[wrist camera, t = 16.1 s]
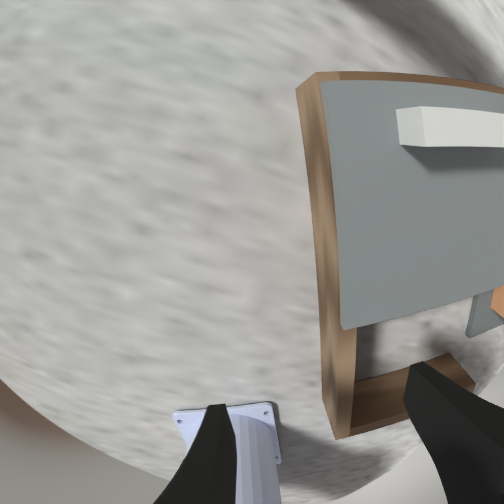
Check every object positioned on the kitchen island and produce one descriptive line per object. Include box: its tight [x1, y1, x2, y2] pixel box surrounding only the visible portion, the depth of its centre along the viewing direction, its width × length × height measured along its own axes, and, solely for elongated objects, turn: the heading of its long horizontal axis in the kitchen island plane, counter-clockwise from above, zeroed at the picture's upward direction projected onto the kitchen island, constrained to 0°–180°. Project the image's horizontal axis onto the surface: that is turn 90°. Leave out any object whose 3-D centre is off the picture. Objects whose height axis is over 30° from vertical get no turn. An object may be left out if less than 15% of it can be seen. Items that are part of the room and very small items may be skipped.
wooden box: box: [296, 71, 504, 440], centre depth 17 cm, size 22×12×4 cm, turn 8°
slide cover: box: [320, 80, 504, 330], centre depth 12 cm, size 11×12×3 cm
